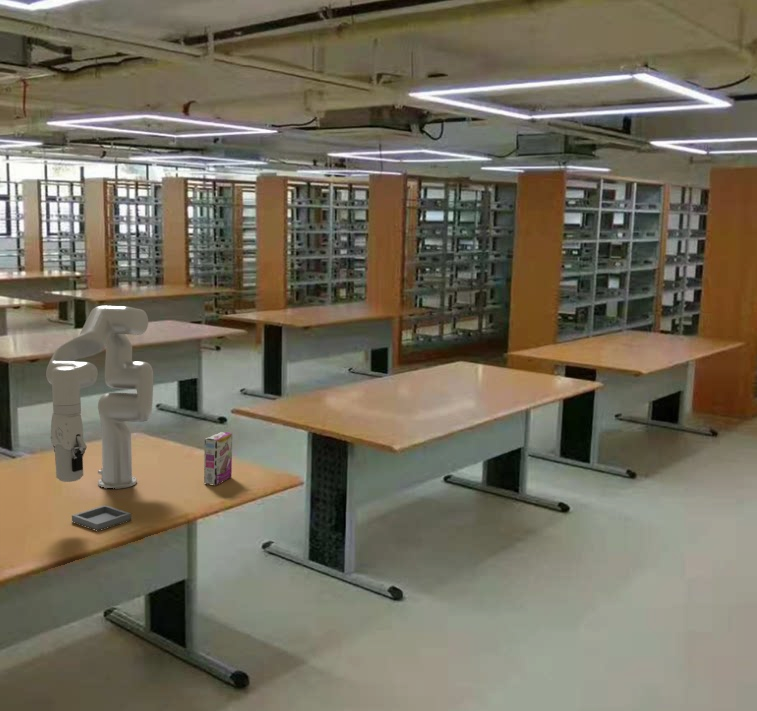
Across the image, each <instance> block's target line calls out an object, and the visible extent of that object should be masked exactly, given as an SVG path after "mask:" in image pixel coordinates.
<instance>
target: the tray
mask: <svg viewBox="0 0 757 711" xmlns="http://www.w3.org/2000/svg"><path fill="white" fill-rule="evenodd" d="M129 520H131V521H132V512H128V511H125V510H122V509H120V508H116V507H113V506H110V505H107V504H105V505H100V506H98V507H95V508H91V509H87V510H85V511H82V512H79V513H75V514H72V515H71V522H72V521H73V522H75V523H78V524H80V525H83V526H86V527H89V528H91V529H95V530H97V531H98V530H101V529H104V528H107V527H110V526H113V525H116V526H118V525H117V524H119V525H121V524H120V523H122V524H124V523H123V522H125V523H127V522H126V521H128V522H130V521H129ZM75 523H74V524H75ZM78 524H77V525H78ZM80 525H79V526H80ZM83 526H82V527H83ZM86 527H85V528H86ZM113 527H114V526H113ZM89 528H88V529H89ZM110 528H111V527H110ZM91 529H90V530H91ZM107 529H108V528H107ZM104 530H105V529H104ZM97 531H96V532H97ZM101 531H102V530H101ZM98 532H99V531H98Z"/></svg>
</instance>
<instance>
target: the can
mask: <svg viewBox="0 0 757 711" xmlns="http://www.w3.org/2000/svg"><path fill="white" fill-rule="evenodd" d="M59 443H61V442H59ZM74 447H78V444H77V445H75V446H74ZM77 451H78V449H76V450H75V452H76V453H77ZM55 455H56V461H55V474H56V476H55V478H56V479H57V480H59V481H60V482H64V483H66V482H67V483H71V482H77V481H79V480H80V479H81V478H82V477H84V468H83V469H82V470H80V471H76V472H73V471H72V458H73V456H72V453H71V450H65V449H64V448H63V446H62V445H60V444H57V445H55V452H54V456H55ZM83 457H84V456H83ZM83 457H82V459H83V460H84V458H83Z"/></svg>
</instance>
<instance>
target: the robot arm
mask: <svg viewBox="0 0 757 711" xmlns="http://www.w3.org/2000/svg"><path fill="white" fill-rule="evenodd" d="M86 318H87V319H86V320H85V322H84V324H83V326H82V329H81V330H80V333H79V334H78V335H77V336H74V337H72V339H69V340H68V341H65V343H64V344H61V345H60V346H59V347H58V348H56V350H54V353H53V354H52V356H51V358H50V360H49V362H48V365H47V366H46V371H45V372H46V373H45V376H46V380H47V382H48V383H49V384H50V385H51V387H52V389H51V390H52V392H51V393H52V415H51V423H50V437H49V438H50V443H51V445H52V446H53V452H54V453H55V445H57V444H60V445H62V446H63V448H64V449H65V450H71V453H72V456H73V458H72V471H73V472H76V471H80V470H82V469H83V470H84V458H83V459H82V457H84V455H85V451H86V450H87V447H88V446H87V445H86V442H85V440H84V439H85V437H84V428H83V420H82V415H81V413H82V408H81V407H82V405H81V404H82V403H81V389H84V388H89V387H92V386H93V385H94V384H95V383H96V381H97V379H98V376H99V375H98V374H99V371H98V368H97V366H96V365H95V364H94V363H92V362H89V361H78V360H81V359H84V358H87V357H92V356H95V355H97V354H100V353H102V352H103V351H104V350H105V361H104V362H105V363H104V382H105V385H106V386H107V387H109V388H112V389H117V390H118V389H120V390H136V393H133V392H132V393H131V392H129V393H128V392H107V393H104V394H102V395H101V396H100V398H99V399H98V402H97V410H98V415H99V419H100V426H101V427H100V428H101V453H102V454H101V455H102V460H101V461H102V462H101V463H102V467H101V469H99V470H97V474H98V475H101V478H99V480H98V481H97V482H98V483H97V485H98V486H99V487H100V486H101V488H102V487H104V488H103V489H107V488H113V489H112V490H116V489H117V490H118V489H120V490H121V489H126V488H130V487H132V486H134V485H136V484H137V481H138V480H137V478H136V477H135V476H133V468H132V463H133V462H132V460H133V459H132V456H133V455H132V432H131V430H130V427H129V426H128V424H127V422H128V423H129V422H131V423H132V422H134V423H145V422H147V421H148V420H150V418H151V417H152V416H151V415H152V412H153V398H154V397H153V396H154V370H153V367H152V365H151V364H150V363H149V362H147V361H141V360H139V361H138V360H137V361H135V360H133V345H132V343H131V340H130V339H129V338H128V337H127V335H133V336H134V335H135V336H138V335H139V336H141V335H144V333H146V331H147V330H148V327H149V318H148V314H147V313H146V311H145V310H143V309H141V308H137V307H136V308H135V307H131V306H125V305H98V306H96V307H94V308H92V310H91V311H90V312H89V314H88V317H86ZM59 442H61V443H59ZM77 444H78V447H74V446H75V445H77ZM76 449H78V451H77V453H76V452H75V450H76ZM54 456H55V462H56V455H55V454H54ZM114 488H115V489H114Z"/></svg>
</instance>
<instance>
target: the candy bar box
mask: <svg viewBox="0 0 757 711" xmlns="http://www.w3.org/2000/svg"><path fill="white" fill-rule="evenodd" d="M232 453H233V433H231V432H223V431H220V432H217V433H215V434H213V435H210V436H208V437H206V438H204V464H203V465H204V468H203V469H204V470H203V471H204V473H203V476H204V477H203V478H204V479H203V480H204V483H206V484H213V485H216V486H218V485H220V484H222V483H223V482H222V481H224V480H226V479H228V478H230V477H231V478H232V469H233V468H232V466H233V465H232V464H233V460H232V459H233V454H232ZM231 478H230V479H231ZM228 480H229V479H228ZM226 481H227V480H226ZM221 482H222V483H221ZM224 482H225V481H224ZM204 483H203V484H204ZM219 483H220V484H219ZM206 484H205V485H206ZM217 484H218V485H217Z"/></svg>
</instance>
